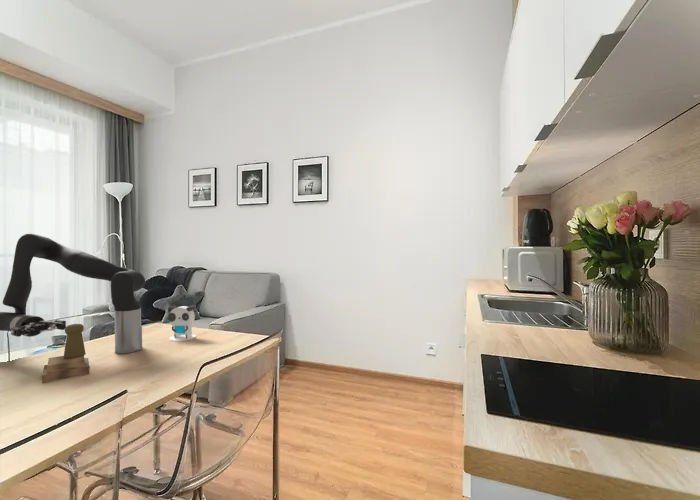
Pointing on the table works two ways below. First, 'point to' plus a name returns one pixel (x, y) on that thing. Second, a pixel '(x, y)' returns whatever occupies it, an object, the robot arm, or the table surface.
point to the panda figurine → (181, 322)
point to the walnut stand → (65, 368)
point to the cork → (74, 341)
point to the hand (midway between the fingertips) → (49, 329)
